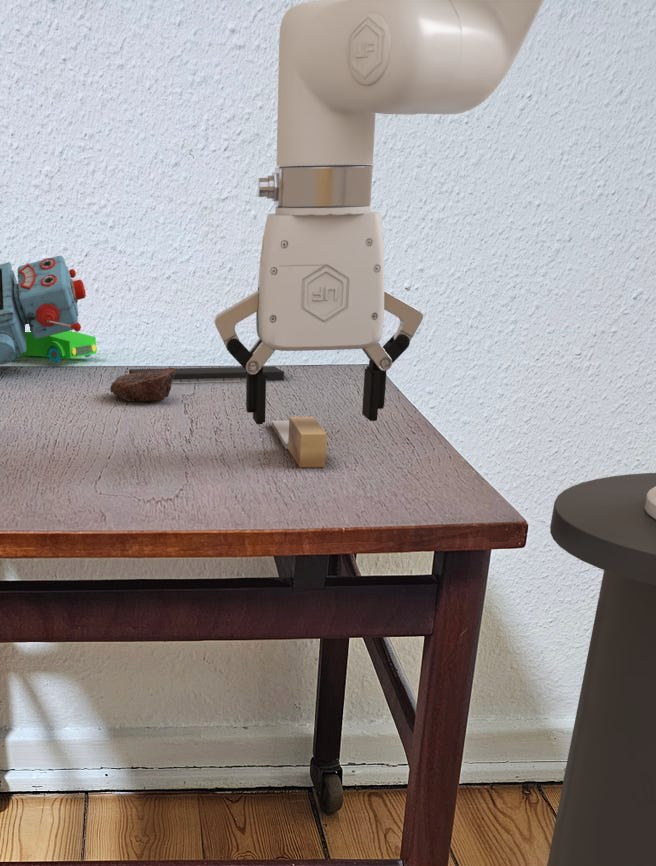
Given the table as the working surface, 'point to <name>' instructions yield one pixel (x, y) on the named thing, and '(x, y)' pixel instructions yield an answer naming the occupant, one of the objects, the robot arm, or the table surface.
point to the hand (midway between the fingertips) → (314, 419)
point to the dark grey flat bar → (217, 374)
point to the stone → (144, 385)
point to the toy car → (60, 345)
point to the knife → (303, 440)
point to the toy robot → (37, 303)
